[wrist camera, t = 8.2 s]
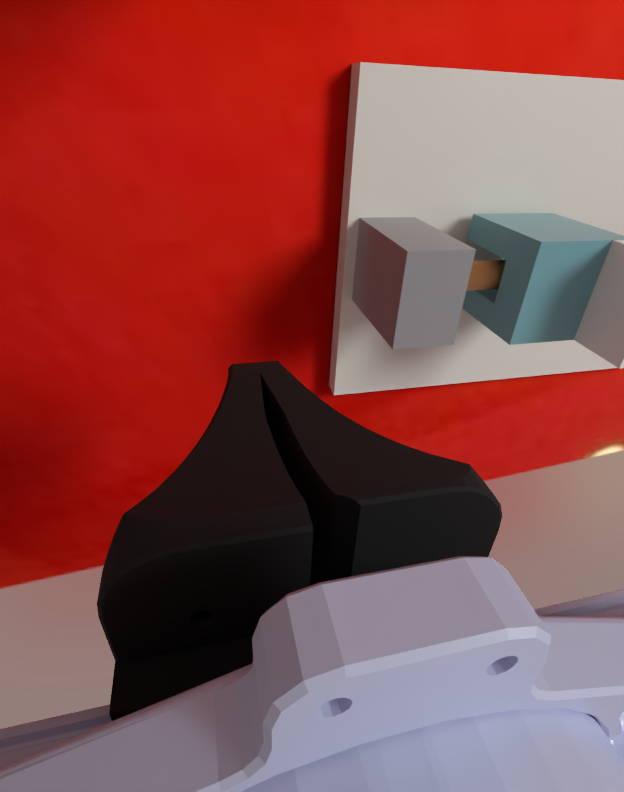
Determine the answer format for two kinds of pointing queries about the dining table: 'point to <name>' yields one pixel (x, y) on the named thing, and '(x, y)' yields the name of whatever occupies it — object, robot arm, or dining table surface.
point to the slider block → (552, 282)
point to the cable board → (459, 214)
